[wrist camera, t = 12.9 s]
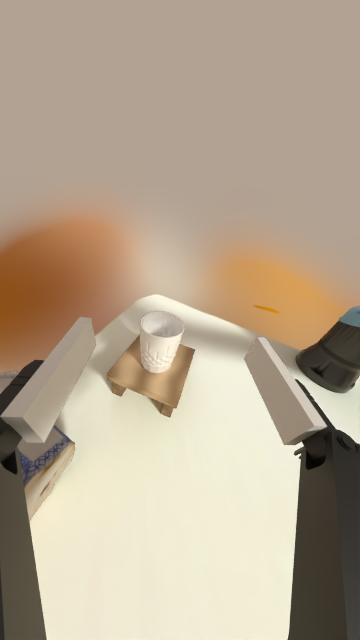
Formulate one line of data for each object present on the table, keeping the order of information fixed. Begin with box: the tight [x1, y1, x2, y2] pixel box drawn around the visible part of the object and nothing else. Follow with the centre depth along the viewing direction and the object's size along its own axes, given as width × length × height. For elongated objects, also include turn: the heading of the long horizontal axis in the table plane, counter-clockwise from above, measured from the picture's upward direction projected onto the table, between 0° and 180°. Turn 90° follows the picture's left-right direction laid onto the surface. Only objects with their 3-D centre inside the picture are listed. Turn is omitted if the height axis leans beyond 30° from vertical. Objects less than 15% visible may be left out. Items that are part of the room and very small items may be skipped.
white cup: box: [140, 311, 185, 373], centre depth 31 cm, size 8×8×10 cm
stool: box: [107, 335, 195, 417], centre depth 36 cm, size 14×14×7 cm
